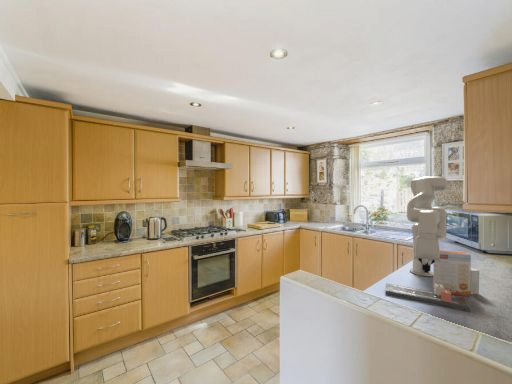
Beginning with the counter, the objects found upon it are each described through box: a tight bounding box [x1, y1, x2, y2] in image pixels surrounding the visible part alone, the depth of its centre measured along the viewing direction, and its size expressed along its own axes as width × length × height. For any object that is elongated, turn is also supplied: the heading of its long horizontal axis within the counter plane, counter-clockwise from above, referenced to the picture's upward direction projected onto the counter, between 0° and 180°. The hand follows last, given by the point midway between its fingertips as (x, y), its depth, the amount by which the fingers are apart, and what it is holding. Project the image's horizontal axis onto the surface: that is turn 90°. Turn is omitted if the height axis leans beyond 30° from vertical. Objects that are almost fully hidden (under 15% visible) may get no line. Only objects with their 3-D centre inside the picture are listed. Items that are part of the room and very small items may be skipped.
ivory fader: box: [433, 283, 444, 295], centre depth 115 cm, size 4×3×4 cm
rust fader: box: [441, 289, 452, 303], centre depth 108 cm, size 4×3×4 cm
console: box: [385, 283, 471, 313], centre depth 115 cm, size 11×32×2 cm, turn 60°
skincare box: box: [470, 267, 480, 295], centre depth 124 cm, size 6×4×12 cm
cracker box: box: [432, 249, 472, 297], centre depth 122 cm, size 14×6×21 cm, turn 71°
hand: (426, 272), depth 118 cm, fingers closed
